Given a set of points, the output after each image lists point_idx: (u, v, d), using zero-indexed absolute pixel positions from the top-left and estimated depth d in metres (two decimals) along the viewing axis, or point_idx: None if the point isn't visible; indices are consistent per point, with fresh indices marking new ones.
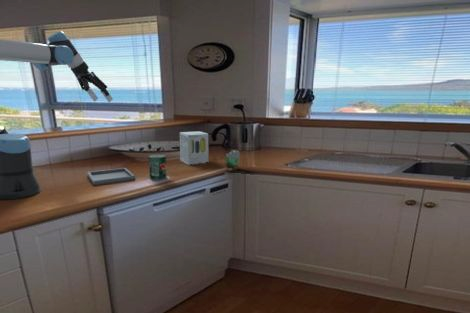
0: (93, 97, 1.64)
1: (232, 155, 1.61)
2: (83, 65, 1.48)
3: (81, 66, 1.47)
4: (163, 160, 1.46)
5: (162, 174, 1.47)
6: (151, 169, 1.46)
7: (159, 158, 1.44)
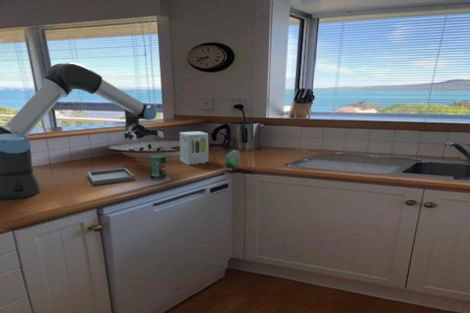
0: None
1: (232, 155, 1.61)
2: None
3: None
4: (163, 160, 1.46)
5: (162, 174, 1.47)
6: (151, 169, 1.46)
7: (159, 158, 1.44)
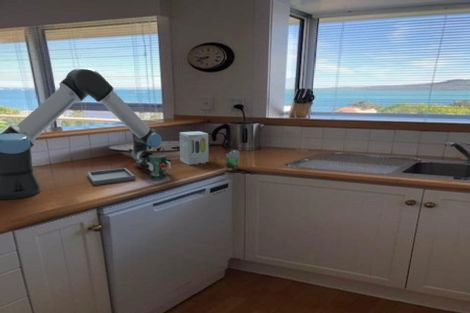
0: None
1: (232, 155, 1.61)
2: None
3: None
4: (163, 160, 1.46)
5: (162, 174, 1.47)
6: None
7: (159, 158, 1.44)
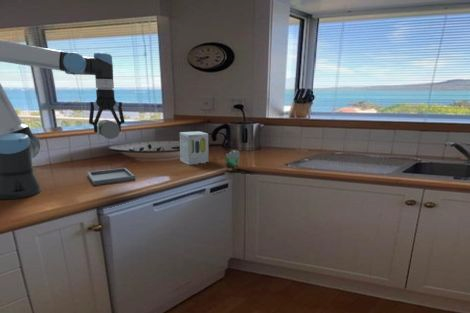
0: None
1: (232, 155, 1.61)
2: (96, 91, 1.38)
3: (96, 91, 1.39)
4: None
5: None
6: None
7: None
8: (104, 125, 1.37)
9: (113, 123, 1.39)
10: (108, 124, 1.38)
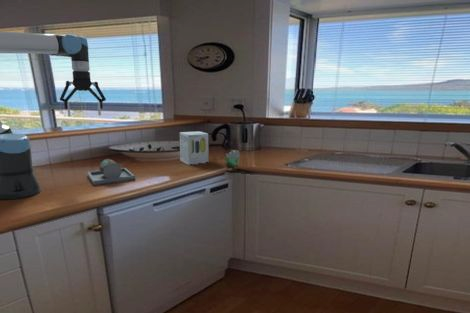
0: (98, 111, 1.56)
1: (232, 155, 1.61)
2: (73, 73, 1.46)
3: None
4: None
5: None
6: None
7: None
8: (106, 167, 1.40)
9: (115, 164, 1.42)
10: (110, 166, 1.41)
